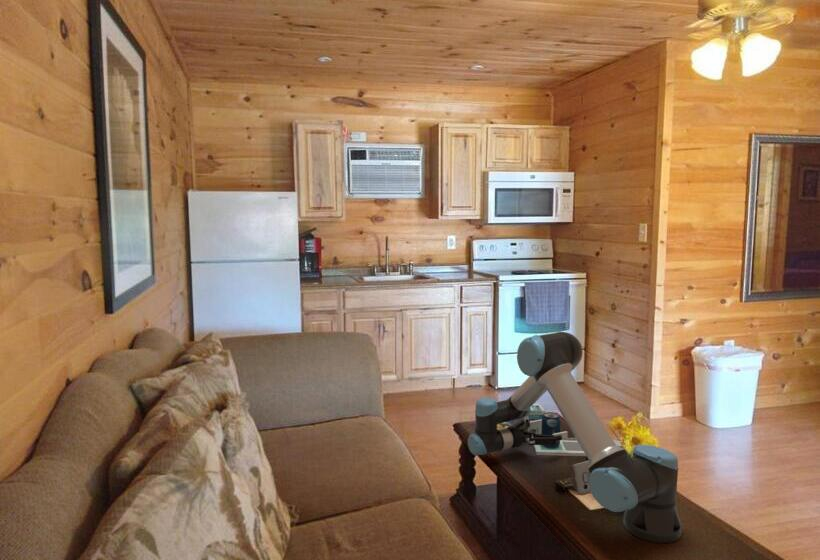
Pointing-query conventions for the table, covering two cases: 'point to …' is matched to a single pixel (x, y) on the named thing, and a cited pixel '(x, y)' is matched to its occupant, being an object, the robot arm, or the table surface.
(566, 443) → the white teal rectangular board
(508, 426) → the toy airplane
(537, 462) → the table surface
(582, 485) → the electrical switch
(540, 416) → the light bulb box
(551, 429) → the soda can
